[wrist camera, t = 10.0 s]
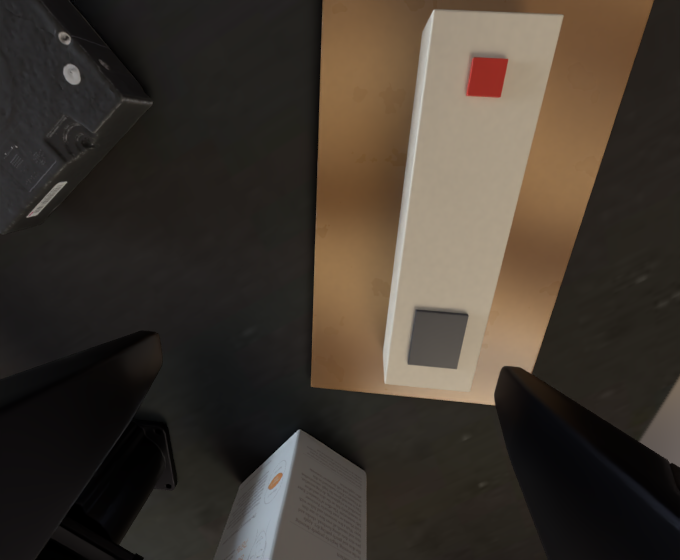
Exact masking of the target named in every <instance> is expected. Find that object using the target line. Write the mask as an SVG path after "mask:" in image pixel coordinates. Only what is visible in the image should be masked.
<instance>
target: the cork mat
mask: <svg viewBox="0 0 680 560" xmlns="http://www.w3.org/2000/svg"><path fill="white" fill-rule="evenodd" d="M653 1H654V0H323V1H322V34H321V67H320V100H319V133H318V166H317V199H316V232H315V265H314V298H313V331H312V365H311V387H317V388H327V389H337V390H347V391H357V392H367V393H377V394H387V395H397V396H407V397H417V398H427V399H437V400H447V401H457V402H467V403H477V404H487V405H495V401H494V392H495V388H496V384H497V381H498V377H499V374H500V371H501V369H502V367H504V366H515V367H521V368H523V369H524V370H526V371H527V372H529V373H530V374H532V371H533V368H534V365H535V362H536V359H537V356H538V353H539V350H540V347H541V344H542V341H543V337H544V334H545V331H546V328H547V325H548V322H549V319H550V316H551V313H552V310H553V307H554V304H555V301H556V298H557V295H558V292H559V289H560V286H561V283H562V279H563V276H564V273H565V270H566V267H567V264H568V261H569V258H570V255H571V252H572V249H573V246H574V243H575V240H576V237H577V234H578V231H579V228H580V224H581V221H582V218H583V215H584V212H585V209H586V206H587V203H588V200H589V197H590V194H591V191H592V188H593V185H594V182H595V179H596V176H597V173H598V169H599V166H600V163H601V160H602V157H603V154H604V151H605V148H606V145H607V142H608V139H609V136H610V133H611V130H612V127H613V124H614V121H615V118H616V114H617V111H618V108H619V105H620V102H621V99H622V96H623V93H624V90H625V87H626V84H627V81H628V78H629V75H630V72H631V69H632V66H633V63H634V59H635V56H636V53H637V50H638V47H639V44H640V41H641V38H642V35H643V32H644V29H645V26H646V23H647V20H648V17H649V14H650V11H651V8H652V4H653ZM434 9H444V10H469V11H493V12H517V13H542V14H562V15H563V16H564V17H563V21H562V25H561V29H560V33H559V37H558V41H557V45H556V49H555V53H554V57H553V61H552V65H551V69H550V73H549V77H548V81H547V85H546V89H545V93H544V97H543V101H542V105H541V109H540V113H539V117H538V121H537V125H536V129H535V133H534V137H533V141H532V145H531V149H530V153H529V157H528V161H527V165H526V169H525V173H524V177H523V181H522V185H521V189H520V193H519V197H518V201H517V205H516V209H515V213H514V217H513V221H512V225H511V229H510V233H509V237H508V241H507V245H506V249H505V253H504V257H503V261H502V265H501V269H500V273H499V277H498V281H497V286H496V290H495V294H494V298H493V302H492V306H491V310H490V314H489V318H488V322H487V326H486V330H485V334H484V338H483V342H482V346H481V350H480V354H479V358H478V362H477V366H476V370H475V374H474V378H473V382H472V386H471V390H470V392H462V391H452V390H441V389H431V388H421V387H411V386H401V385H390V384H385V382H384V366H383V347H384V339H385V331H386V323H387V315H388V307H389V298H390V290H391V282H392V274H393V266H394V258H395V250H396V241H397V233H398V225H399V217H400V209H401V201H402V192H403V184H404V176H405V168H406V160H407V152H408V143H409V135H410V127H411V119H412V111H413V103H414V95H415V86H416V78H417V70H418V62H419V54H420V46H421V37H422V32H423V30H424V28H425V26H426V24H427V22H428V20H429V18H430V16H431V14H432V12H433V10H434Z"/></svg>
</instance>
